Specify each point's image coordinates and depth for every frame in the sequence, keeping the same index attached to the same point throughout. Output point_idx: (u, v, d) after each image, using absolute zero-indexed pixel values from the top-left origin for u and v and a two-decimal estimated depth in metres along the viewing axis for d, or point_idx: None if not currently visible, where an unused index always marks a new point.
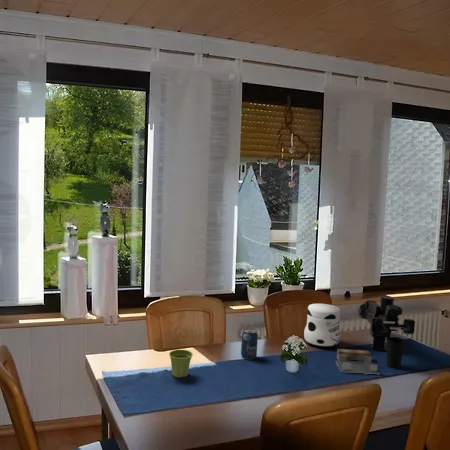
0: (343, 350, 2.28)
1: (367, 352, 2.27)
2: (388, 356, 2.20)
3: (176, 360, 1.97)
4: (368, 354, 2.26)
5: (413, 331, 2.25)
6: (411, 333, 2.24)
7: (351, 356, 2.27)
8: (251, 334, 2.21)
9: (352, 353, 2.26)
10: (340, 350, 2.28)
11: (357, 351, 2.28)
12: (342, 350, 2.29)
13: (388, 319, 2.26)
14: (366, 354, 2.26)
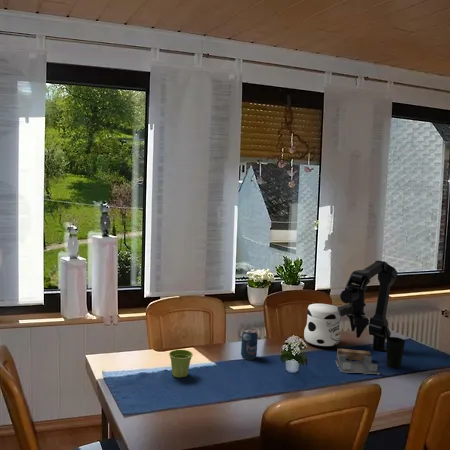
0: (343, 350, 2.29)
1: (367, 352, 2.27)
2: (388, 356, 2.20)
3: (176, 360, 1.97)
4: (368, 354, 2.26)
5: None
6: (367, 325, 2.19)
7: (351, 356, 2.27)
8: (251, 334, 2.21)
9: (351, 353, 2.27)
10: (340, 350, 2.29)
11: (357, 351, 2.28)
12: (342, 349, 2.29)
13: None
14: (366, 354, 2.26)
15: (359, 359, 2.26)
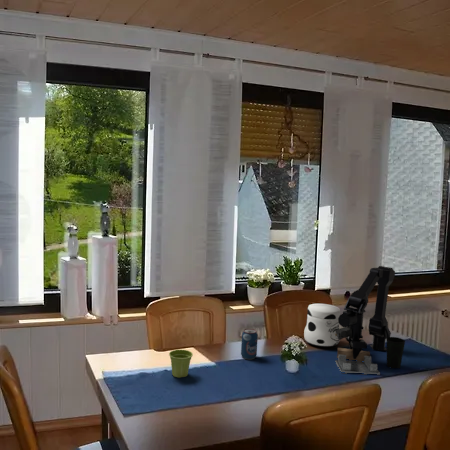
0: (343, 349, 2.29)
1: (367, 353, 2.26)
2: (388, 356, 2.20)
3: (176, 360, 1.97)
4: (368, 355, 2.25)
5: None
6: None
7: (350, 356, 2.27)
8: (251, 334, 2.21)
9: (351, 353, 2.27)
10: (340, 349, 2.29)
11: None
12: (342, 349, 2.30)
13: None
14: (365, 355, 2.25)
15: (359, 359, 2.26)
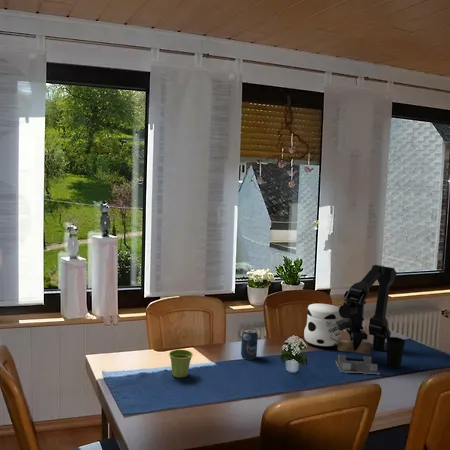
0: (343, 340, 2.29)
1: (368, 344, 2.26)
2: (388, 356, 2.20)
3: (176, 360, 1.97)
4: (368, 346, 2.25)
5: None
6: None
7: (351, 347, 2.26)
8: (251, 334, 2.21)
9: (351, 344, 2.26)
10: (340, 340, 2.29)
11: None
12: (343, 340, 2.29)
13: None
14: (366, 346, 2.25)
15: (359, 350, 2.26)
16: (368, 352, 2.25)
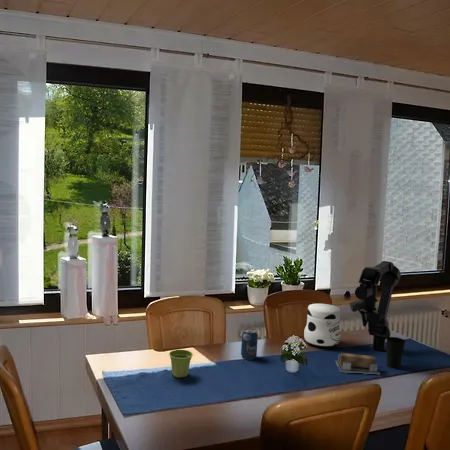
0: (346, 354, 2.18)
1: (372, 358, 2.15)
2: (388, 356, 2.20)
3: (176, 360, 1.97)
4: (373, 360, 2.14)
5: (378, 319, 2.20)
6: (379, 321, 2.21)
7: (355, 361, 2.16)
8: (251, 334, 2.21)
9: (355, 358, 2.16)
10: (343, 354, 2.18)
11: (361, 356, 2.17)
12: (346, 354, 2.18)
13: None
14: (371, 360, 2.14)
15: (363, 364, 2.15)
16: None
